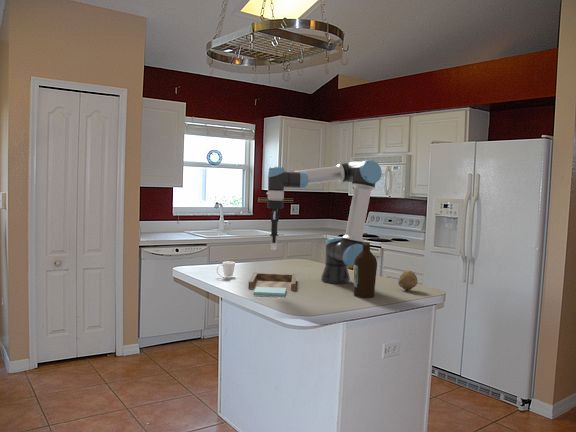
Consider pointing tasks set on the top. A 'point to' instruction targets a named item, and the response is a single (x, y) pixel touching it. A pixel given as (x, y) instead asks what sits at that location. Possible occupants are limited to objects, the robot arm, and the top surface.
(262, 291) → the cover plate
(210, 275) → the top surface
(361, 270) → the olive oil
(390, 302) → the top surface
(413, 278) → the natural sponge
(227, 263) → the cup
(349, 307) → the top surface
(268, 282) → the walnut box
